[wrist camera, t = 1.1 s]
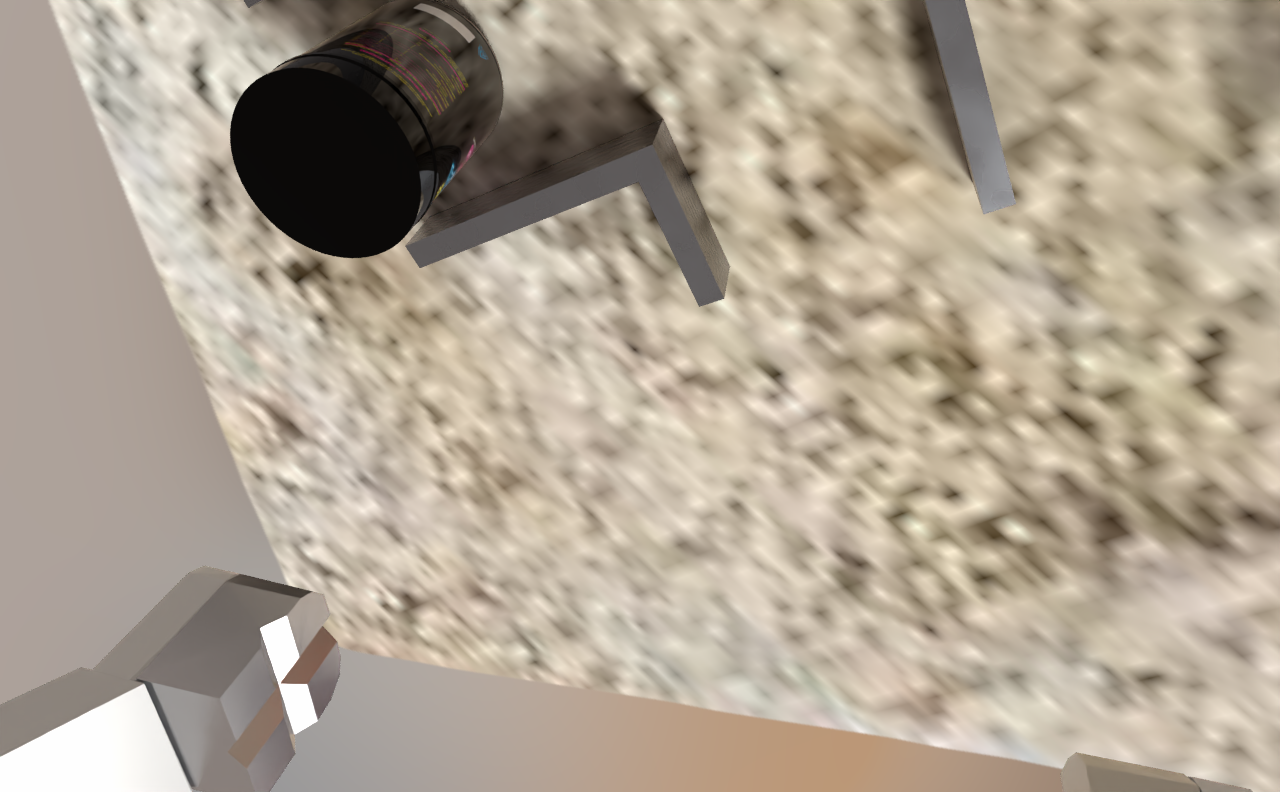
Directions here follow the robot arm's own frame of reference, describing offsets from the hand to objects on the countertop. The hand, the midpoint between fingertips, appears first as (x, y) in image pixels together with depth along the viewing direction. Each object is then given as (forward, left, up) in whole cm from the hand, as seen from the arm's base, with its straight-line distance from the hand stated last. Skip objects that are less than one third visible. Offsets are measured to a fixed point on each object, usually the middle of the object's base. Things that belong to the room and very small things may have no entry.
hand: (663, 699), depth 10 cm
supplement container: (-3, -14, -31) cm, 34 cm away
